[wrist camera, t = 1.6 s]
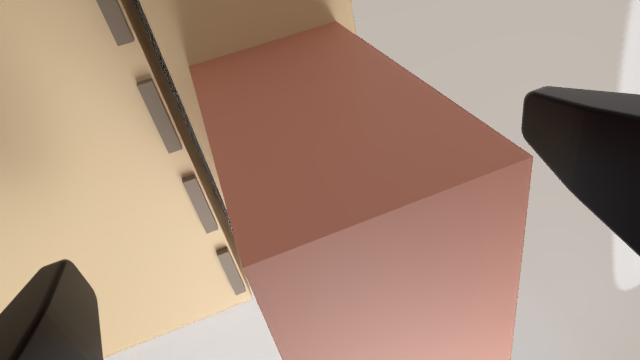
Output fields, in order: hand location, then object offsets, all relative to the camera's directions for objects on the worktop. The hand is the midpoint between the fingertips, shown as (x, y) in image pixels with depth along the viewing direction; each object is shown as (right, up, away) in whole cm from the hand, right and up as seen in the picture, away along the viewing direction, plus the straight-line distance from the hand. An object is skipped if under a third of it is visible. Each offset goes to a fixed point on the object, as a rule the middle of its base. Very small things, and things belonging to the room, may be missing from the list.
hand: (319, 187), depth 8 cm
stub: (-2, +3, +4) cm, 5 cm away
